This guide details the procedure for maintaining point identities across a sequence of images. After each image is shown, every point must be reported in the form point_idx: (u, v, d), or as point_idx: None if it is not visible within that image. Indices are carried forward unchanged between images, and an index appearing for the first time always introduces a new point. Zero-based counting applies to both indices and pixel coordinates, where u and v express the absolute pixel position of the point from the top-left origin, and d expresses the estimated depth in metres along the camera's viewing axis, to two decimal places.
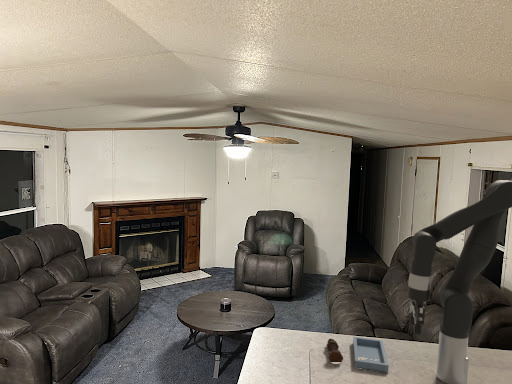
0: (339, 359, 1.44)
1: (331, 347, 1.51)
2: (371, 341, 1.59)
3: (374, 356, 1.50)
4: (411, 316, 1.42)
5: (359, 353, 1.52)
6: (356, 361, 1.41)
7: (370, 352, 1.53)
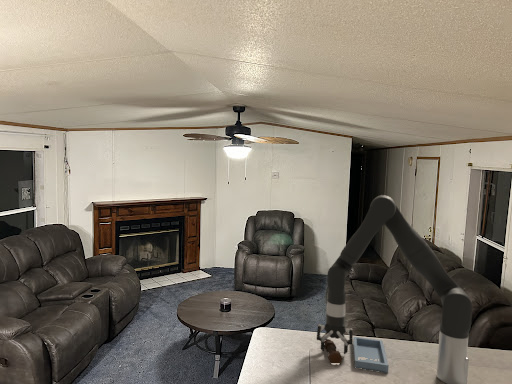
0: (339, 359, 1.43)
1: (329, 348, 1.50)
2: (371, 341, 1.59)
3: (374, 356, 1.50)
4: None
5: (359, 353, 1.52)
6: (356, 361, 1.41)
7: (370, 352, 1.53)
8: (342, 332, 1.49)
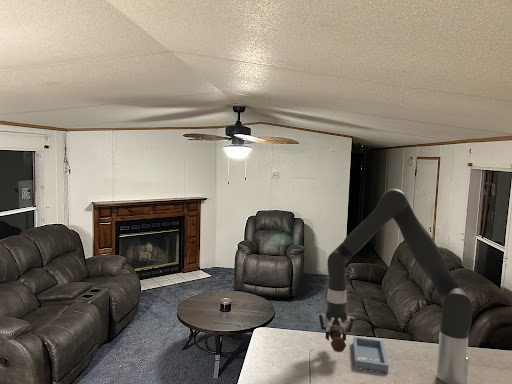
0: (342, 346, 1.43)
1: (333, 335, 1.49)
2: (371, 341, 1.59)
3: (374, 356, 1.50)
4: (328, 333, 1.51)
5: (359, 353, 1.52)
6: (356, 361, 1.41)
7: (370, 352, 1.53)
8: (343, 320, 1.49)
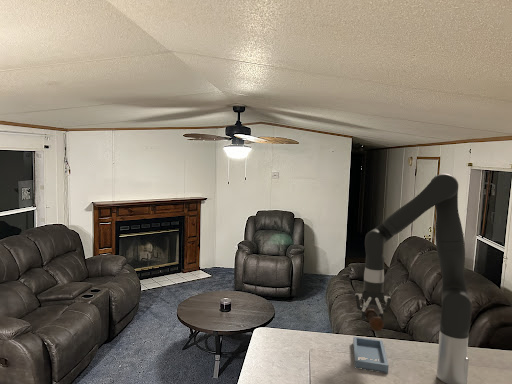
0: (380, 325, 1.41)
1: (370, 314, 1.48)
2: (371, 341, 1.59)
3: (374, 356, 1.50)
4: None
5: (359, 353, 1.52)
6: (356, 361, 1.41)
7: (370, 352, 1.53)
8: (380, 299, 1.47)
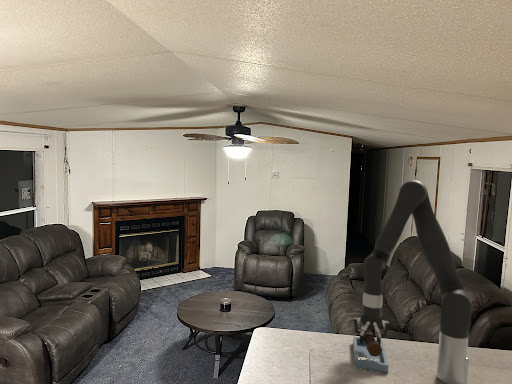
0: (378, 350, 1.42)
1: (368, 339, 1.48)
2: None
3: (374, 356, 1.50)
4: (363, 337, 1.50)
5: (359, 353, 1.52)
6: (356, 361, 1.41)
7: None
8: (378, 324, 1.48)
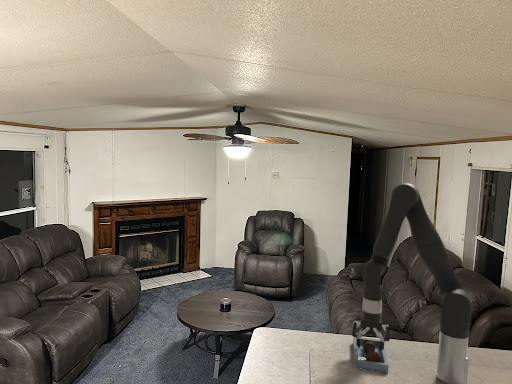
0: (377, 361, 1.42)
1: (368, 348, 1.49)
2: (371, 341, 1.59)
3: None
4: None
5: (359, 353, 1.52)
6: (356, 361, 1.41)
7: None
8: (379, 329, 1.48)
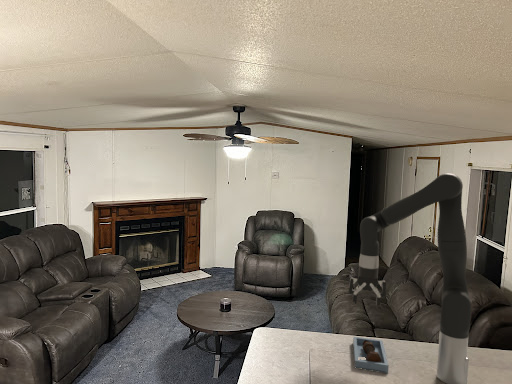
0: (378, 361, 1.42)
1: (368, 349, 1.48)
2: (371, 341, 1.59)
3: None
4: (356, 296, 1.52)
5: (359, 353, 1.52)
6: (356, 361, 1.41)
7: None
8: (375, 284, 1.50)
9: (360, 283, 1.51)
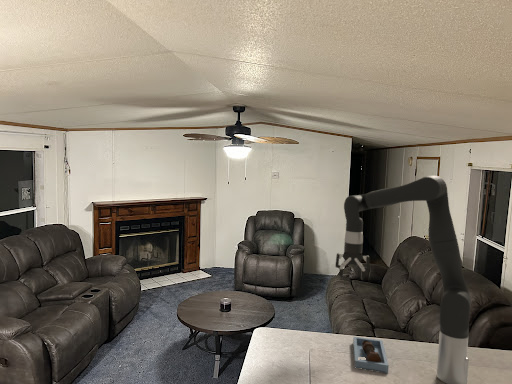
0: (378, 361, 1.41)
1: (368, 349, 1.48)
2: (371, 341, 1.59)
3: None
4: (342, 271, 1.62)
5: (359, 353, 1.52)
6: (356, 361, 1.41)
7: None
8: (359, 259, 1.60)
9: (346, 258, 1.61)
